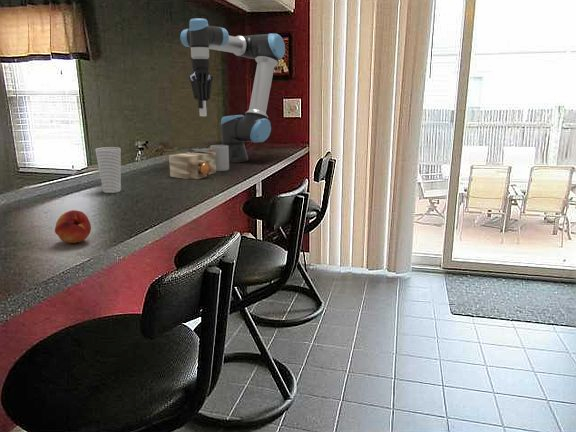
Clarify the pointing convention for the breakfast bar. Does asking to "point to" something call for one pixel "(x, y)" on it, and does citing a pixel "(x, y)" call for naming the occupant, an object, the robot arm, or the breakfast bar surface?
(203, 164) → the pin
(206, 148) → the plate
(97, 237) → the breakfast bar surface
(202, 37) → the robot arm
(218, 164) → the mug
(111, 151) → the cup
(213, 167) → the block
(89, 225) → the fruit
